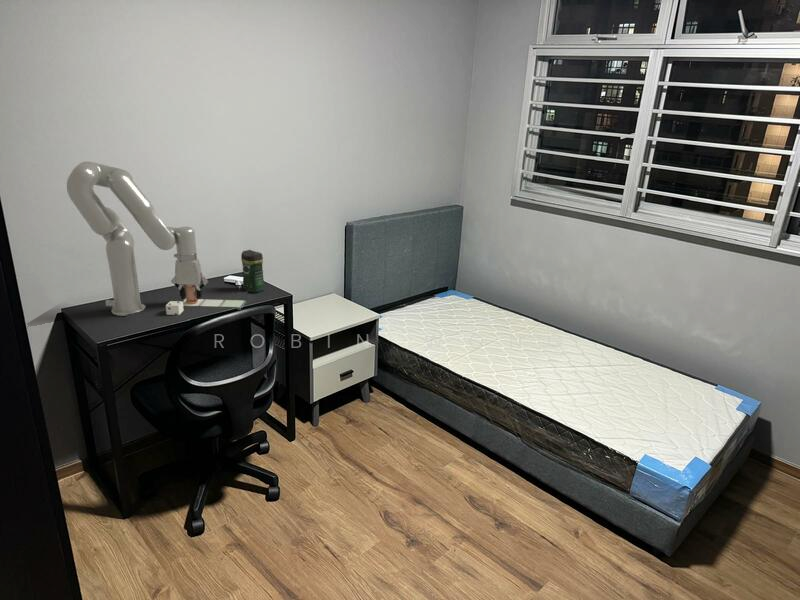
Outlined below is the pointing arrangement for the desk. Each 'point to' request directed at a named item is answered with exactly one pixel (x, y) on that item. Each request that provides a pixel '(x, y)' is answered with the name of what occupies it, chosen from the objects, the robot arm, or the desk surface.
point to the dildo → (191, 294)
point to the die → (174, 308)
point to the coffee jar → (252, 271)
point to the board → (218, 303)
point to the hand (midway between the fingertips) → (191, 297)
